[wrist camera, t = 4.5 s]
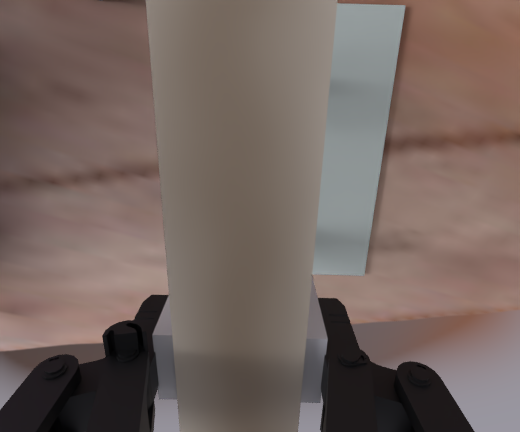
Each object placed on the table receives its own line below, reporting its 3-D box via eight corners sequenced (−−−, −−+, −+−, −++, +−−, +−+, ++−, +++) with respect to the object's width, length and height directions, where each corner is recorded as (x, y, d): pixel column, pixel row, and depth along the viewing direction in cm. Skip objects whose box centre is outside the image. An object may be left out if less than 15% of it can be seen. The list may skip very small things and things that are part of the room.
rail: (210, 452, 21) (192, 586, 16) (193, -22, 12) (138, -98, 7) (277, 454, 21) (283, 588, 16) (308, -19, 13) (345, -91, 7)
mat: (296, 271, 43) (296, 273, 43) (315, 4, 33) (316, 2, 32) (362, 273, 43) (364, 275, 43) (403, 6, 33) (405, 5, 32)
